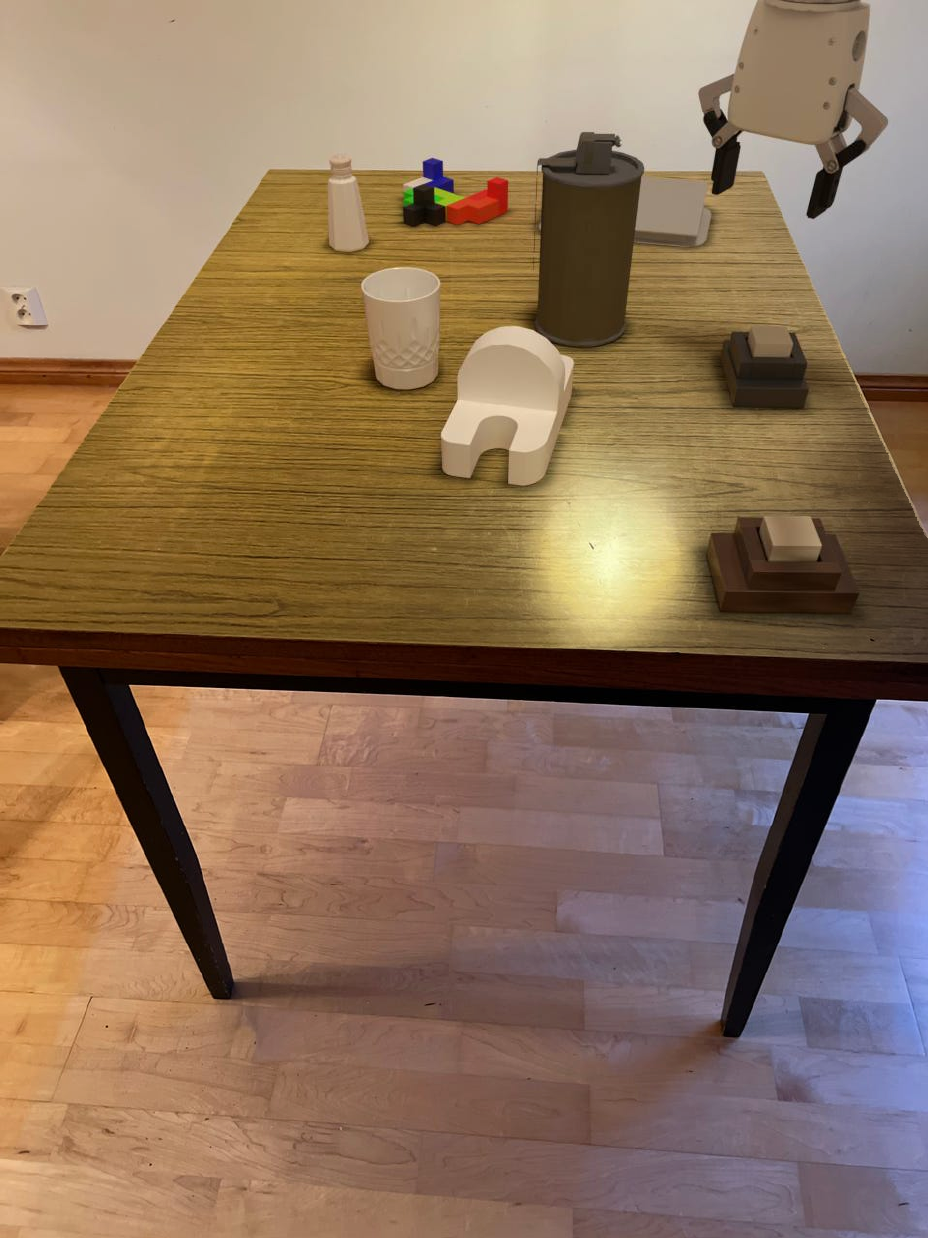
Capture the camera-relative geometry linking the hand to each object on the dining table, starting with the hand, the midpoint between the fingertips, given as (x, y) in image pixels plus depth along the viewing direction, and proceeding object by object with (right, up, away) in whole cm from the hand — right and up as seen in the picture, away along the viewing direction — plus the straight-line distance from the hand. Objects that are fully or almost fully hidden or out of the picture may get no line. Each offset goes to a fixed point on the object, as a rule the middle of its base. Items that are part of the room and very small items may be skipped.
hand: (767, 201), depth 83 cm
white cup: (-35, -13, +12) cm, 39 cm away
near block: (-4, -36, -13) cm, 39 cm away
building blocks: (-32, +20, +45) cm, 58 cm away
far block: (+2, -15, +9) cm, 17 cm away
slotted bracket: (-24, -21, +4) cm, 32 cm away
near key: (-4, -34, -15) cm, 37 cm away
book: (-6, +17, +41) cm, 45 cm away
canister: (-16, -6, +19) cm, 25 cm away
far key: (+2, -12, +7) cm, 14 cm away
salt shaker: (-44, +11, +37) cm, 59 cm away
